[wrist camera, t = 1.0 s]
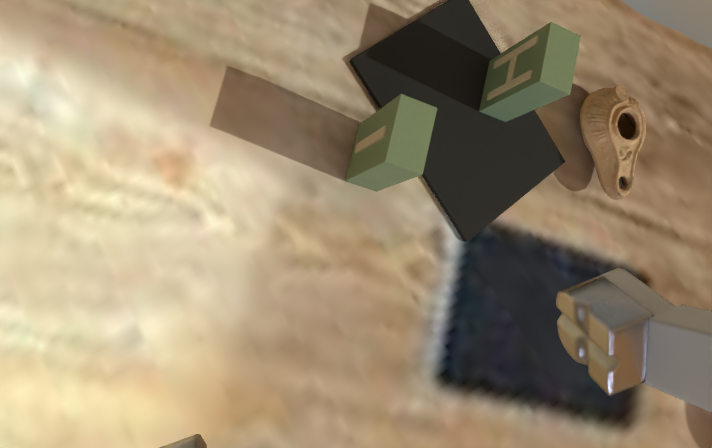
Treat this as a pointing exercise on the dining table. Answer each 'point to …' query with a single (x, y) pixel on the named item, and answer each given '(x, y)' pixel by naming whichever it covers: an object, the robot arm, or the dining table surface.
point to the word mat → (460, 115)
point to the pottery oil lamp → (613, 137)
